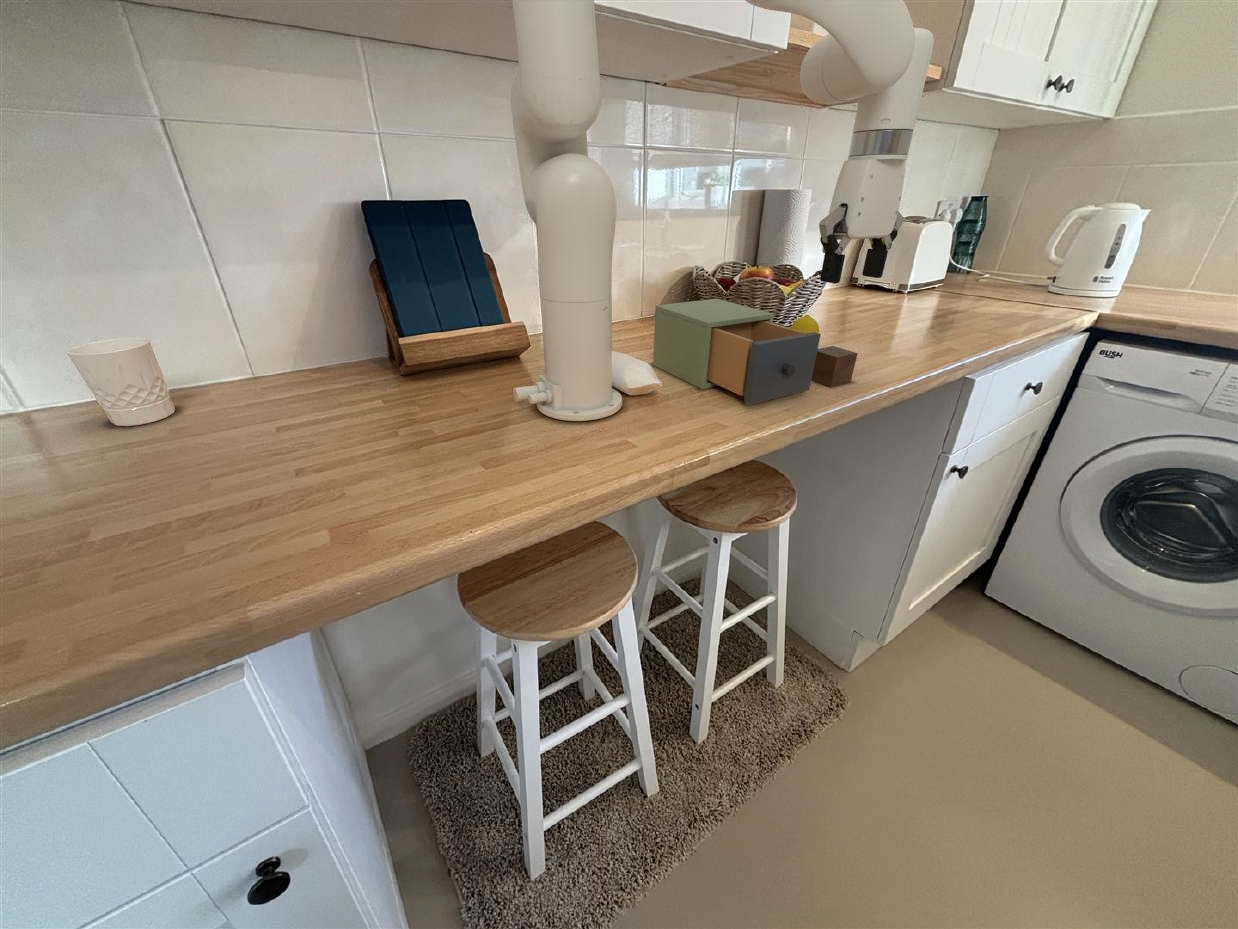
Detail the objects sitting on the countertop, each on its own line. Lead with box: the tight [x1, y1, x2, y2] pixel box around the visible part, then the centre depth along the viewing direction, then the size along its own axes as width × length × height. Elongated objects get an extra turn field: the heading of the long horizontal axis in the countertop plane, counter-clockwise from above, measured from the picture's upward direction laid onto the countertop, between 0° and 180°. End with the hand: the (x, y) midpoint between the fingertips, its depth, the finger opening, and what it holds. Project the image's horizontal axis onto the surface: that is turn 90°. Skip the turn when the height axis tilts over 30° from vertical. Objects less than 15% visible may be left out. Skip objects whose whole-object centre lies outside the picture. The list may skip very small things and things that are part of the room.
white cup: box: [66, 337, 176, 427], centre depth 66 cm, size 8×8×10 cm
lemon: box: [790, 314, 820, 334], centre depth 93 cm, size 6×6×8 cm
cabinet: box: [652, 298, 775, 390], centre depth 85 cm, size 15×14×11 cm
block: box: [811, 345, 859, 388], centre depth 82 cm, size 5×5×5 cm
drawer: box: [707, 320, 822, 405], centre depth 77 cm, size 15×12×9 cm
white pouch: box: [612, 350, 663, 396], centre depth 76 cm, size 6×12×6 cm, turn 35°
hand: (851, 279), depth 76 cm, fingers open, 9 cm apart
